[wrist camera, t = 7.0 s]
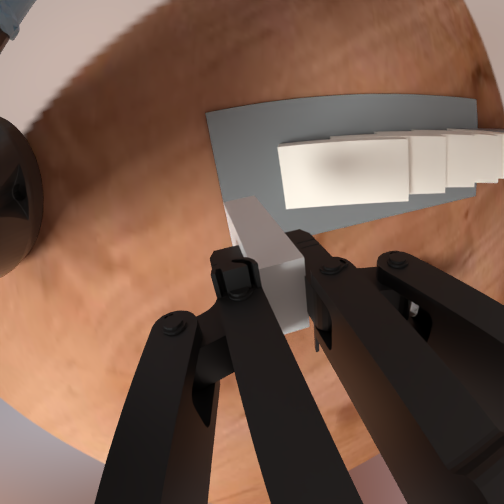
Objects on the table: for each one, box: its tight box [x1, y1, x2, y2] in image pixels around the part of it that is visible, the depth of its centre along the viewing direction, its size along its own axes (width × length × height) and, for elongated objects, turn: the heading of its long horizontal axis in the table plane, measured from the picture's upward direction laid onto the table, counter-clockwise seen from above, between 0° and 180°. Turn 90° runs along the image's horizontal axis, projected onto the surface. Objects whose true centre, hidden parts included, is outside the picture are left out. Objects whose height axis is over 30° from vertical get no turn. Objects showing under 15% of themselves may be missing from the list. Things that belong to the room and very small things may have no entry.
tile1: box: [277, 136, 409, 209], centre depth 23 cm, size 2×5×10 cm
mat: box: [205, 94, 478, 241], centre depth 26 cm, size 30×12×1 cm, turn 99°
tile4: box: [411, 130, 500, 183], centre depth 24 cm, size 2×5×10 cm
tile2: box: [330, 133, 446, 194], centre depth 23 cm, size 2×5×10 cm
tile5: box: [447, 128, 504, 179], centre depth 24 cm, size 2×5×10 cm
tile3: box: [374, 131, 476, 187], centre depth 23 cm, size 2×5×10 cm
